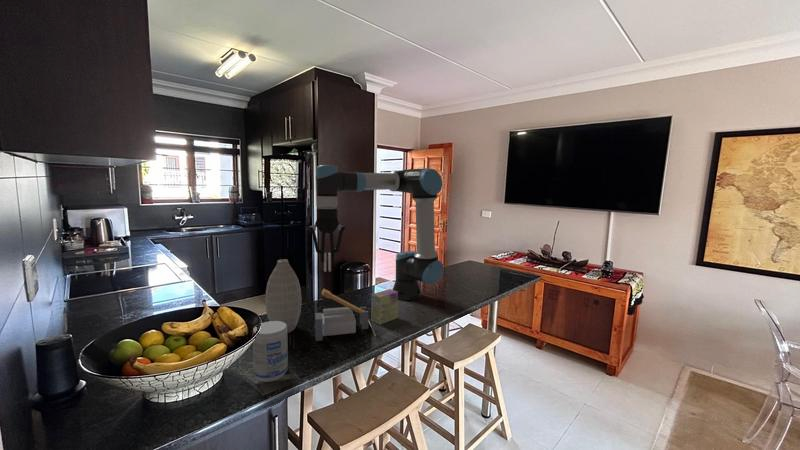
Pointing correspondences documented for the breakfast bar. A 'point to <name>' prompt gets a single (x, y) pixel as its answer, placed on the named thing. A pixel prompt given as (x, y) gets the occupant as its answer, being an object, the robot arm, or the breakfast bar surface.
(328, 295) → the strap
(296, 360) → the breakfast bar surface
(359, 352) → the breakfast bar surface
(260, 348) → the supplement tub
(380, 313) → the box
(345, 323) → the base
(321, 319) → the lock
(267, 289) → the vase
